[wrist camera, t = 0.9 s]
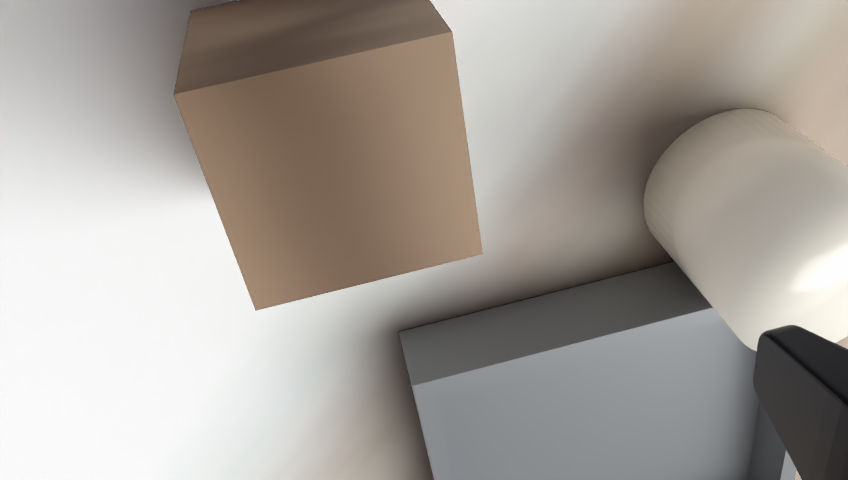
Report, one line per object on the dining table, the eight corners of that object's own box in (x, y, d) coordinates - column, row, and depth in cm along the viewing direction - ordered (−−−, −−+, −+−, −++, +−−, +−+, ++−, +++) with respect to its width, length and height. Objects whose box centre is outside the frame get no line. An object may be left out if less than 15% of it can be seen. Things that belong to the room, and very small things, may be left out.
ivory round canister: (807, 90, 21) (939, 172, 17) (785, 231, 24) (895, 329, 20) (644, 130, 21) (739, 222, 17) (641, 268, 24) (722, 375, 20)
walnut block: (403, -37, 17) (452, 31, 13) (434, 151, 20) (483, 254, 16) (190, 9, 17) (173, 94, 13) (253, 193, 20) (255, 310, 16)
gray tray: (790, 232, 24) (837, 274, 22) (750, 481, 32) (783, 529, 30) (398, 332, 23) (412, 385, 21) (453, 564, 31) (467, 619, 29)
